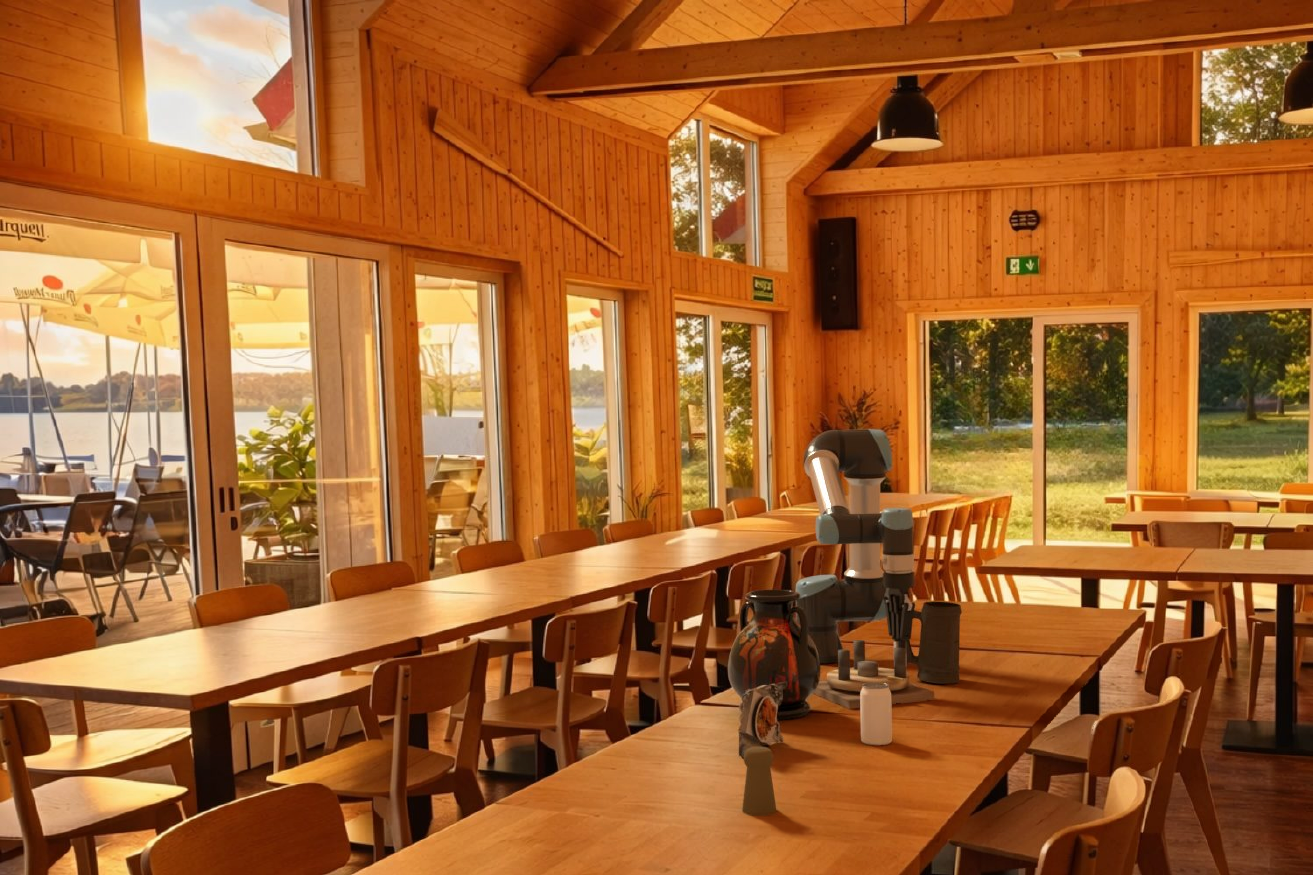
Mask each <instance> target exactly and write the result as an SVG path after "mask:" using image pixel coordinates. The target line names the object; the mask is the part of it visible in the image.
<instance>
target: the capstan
mask: <svg viewBox="0 0 1313 875" xmlns="http://www.w3.org/2000/svg"><path fill="white" fill-rule="evenodd" d="M850 651H851V650H849V649H843V650H838V662H837V663H838V664H837V667H838V669H833V670H831V671H829V672H827V673H826V680H827V684H828V685H829V686H831V687H834V688H837V689H842V690H848V691H859V692H861V690H862V685H863V684H866V683H884V684H888V685H889V689H890V691H893V690H899V689H903V688H906V687H908V686H909V685H910V683H911V680H910V674H909V673H908V672H907V667H906V648H902V647H897V648H894V647H893V667H894V668H886V667H879V662H877V661H875V660H874V661H873V660H866V641H865V640H862V639H856V640H853V667H851V659H850V658H851V656H850V655H851V654H850V653H851V652H850Z"/></svg>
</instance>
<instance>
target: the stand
mask: <svg viewBox="0 0 1313 875" xmlns="http://www.w3.org/2000/svg"><path fill="white" fill-rule="evenodd" d="M812 695H815V696H818V697H820V696H821V697H820V698H822V697H823V698H822V699H825V700H827V701H830V702H831V703H834V704H836V703H837V705H839V704H840V705H839V706H841V707H843V706H844V708H846V709H848V710H851V709H852V710H853V709H860V692H859V691H848V690H842V689H837V688H834V687H831V686H829V685H828V684H827V679H826V680H824V679H823V680H819V683H818V686H817V687H816V689H815V691H814V692H813V693H812ZM927 700H930V701H935V691H934V690H930V689H927V688H925V687H922V686H919V685H917V684H914V683H911V682H910V685H909V686H908V687H906V688H903V689H899V690H893V691H891V704H892V705H897V704H896V703H901V704H909V703H917V702H918V703H919V702H928V701H927Z"/></svg>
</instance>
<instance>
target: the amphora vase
mask: <svg viewBox="0 0 1313 875" xmlns="http://www.w3.org/2000/svg"><path fill="white" fill-rule="evenodd" d="M800 597H801V595H800V594H799V593H798V592H796V590H795V591H794V590H791V589H790V590H789V589H758V590H753V591H748V592H747V593H746V594H745V596H744V598H745V600H747V601H746V602H744V603H743V604H742V606H741V608H740V613H739V633H738V635H737V636H736V637H735V640H734V641H733V644H732V646H731V650H730V652H729V657H728V663H727V676H728V677H727V678H728V680H729V683H730V686H731V687H732V689H733V691H734V692H735V693H736V694H737V695H738V696H739V698H740V699H741V698H742V696H743V694H745V693H746V690H748V689H754V688H757V687H759V686H762V685H770V684H777V683H783V682H787V681H788V685H787V686H786V687H785V688H784V689H783V690H782V692H783V700H782V702H781V704H780V706H778V709H777V719H776V720H777V721H778V720H780V721H783V720H784V721H785V720H791V719H793V720H794V719H798V718H801V717H803V716H806V715H807V714H808V713H809V712H810V711H811V704H810V703H809V702H808V699H809V698H810V697H811V696H812V695H813V692H814V691H815V689H816V687H817V686H818V683H819V681H821V669H822V668H821V664H820V661H819V655H818V652H817V649H816V646H815V644H814V642H813V640H812V638H811V637H810V635H809V634H808V621H807V615H806V613H805V611H804V610H803V609H802V608H801V607H796V606H793V604H794V603H796V601H797V600H798V599H800ZM749 609H751V611H752V612H753V613H752V617H751V619H750V620H749V622H748V612H749ZM796 613H797V614H798V615H799V618H800V624H799V623H798V622H797V621H796V617H795V614H796ZM742 699H744V698H742ZM742 699H741V700H742ZM738 708H739V711H740V713H742V710H743V702H742V701H741V702H740V704H739V707H738Z"/></svg>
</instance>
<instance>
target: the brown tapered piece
mask: <svg viewBox="0 0 1313 875" xmlns="http://www.w3.org/2000/svg"><path fill="white" fill-rule="evenodd" d="M772 751H773V750H772V749H770V748H769V747H766V746H761V747H750V748H748V749H747V750H746V751H745V752H744V758H743V762H744V765H745V766H746V772H745V783H744V790H743V801H742V810H741V811H742V812H743V813H744V814H745V815H750V816H758V817H759V816H761V817H762V816H764V817H765V816H769V815H773V814H775V813H776V812H777V805H776V804H777V803H776V798H775V791H774V784H773V778H772V771H771V768H772V765H773V763H774V754H773V752H772Z"/></svg>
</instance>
